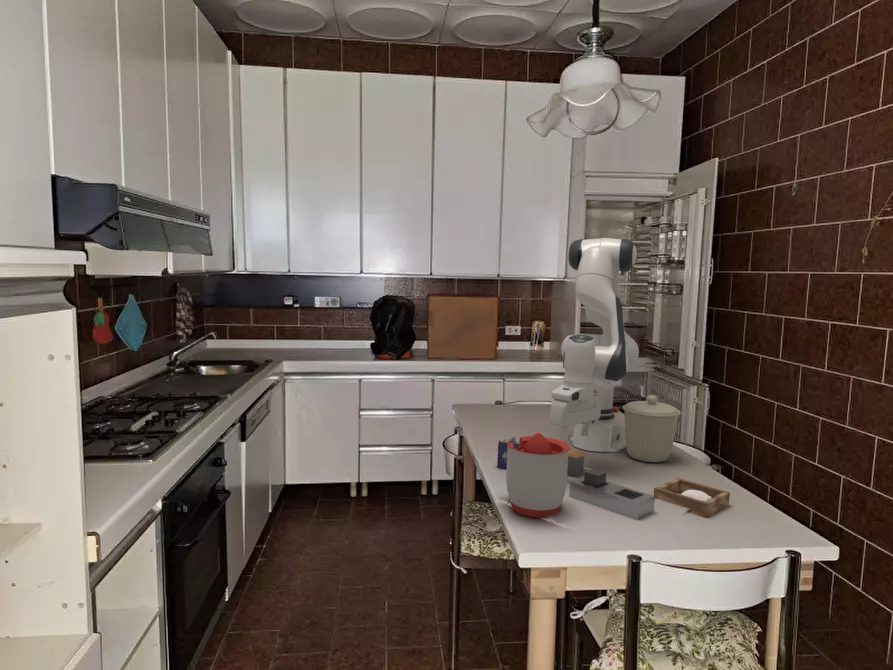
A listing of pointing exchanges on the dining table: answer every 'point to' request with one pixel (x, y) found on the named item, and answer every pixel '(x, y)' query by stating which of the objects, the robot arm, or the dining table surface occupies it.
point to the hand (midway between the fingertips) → (575, 438)
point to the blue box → (504, 451)
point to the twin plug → (595, 478)
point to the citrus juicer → (536, 475)
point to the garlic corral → (695, 506)
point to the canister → (650, 429)
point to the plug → (575, 463)
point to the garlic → (696, 495)
